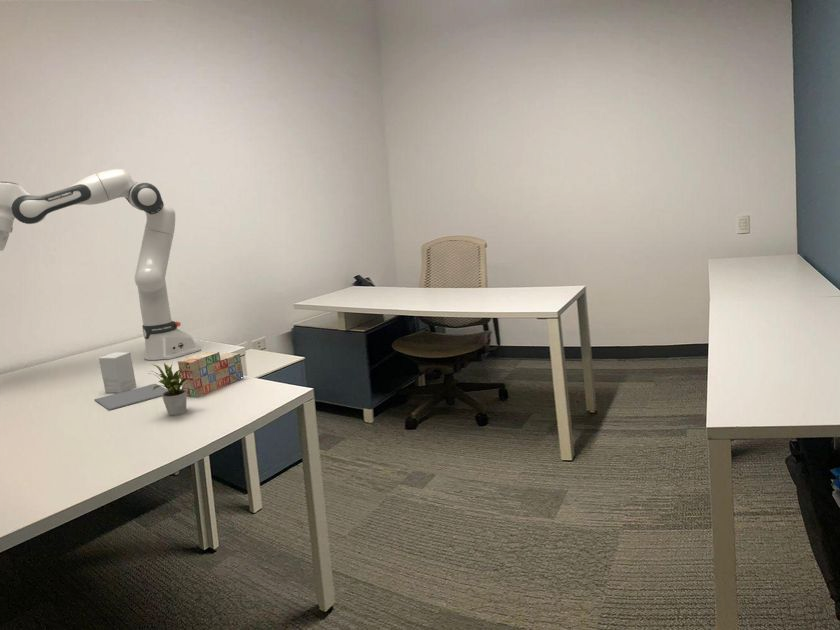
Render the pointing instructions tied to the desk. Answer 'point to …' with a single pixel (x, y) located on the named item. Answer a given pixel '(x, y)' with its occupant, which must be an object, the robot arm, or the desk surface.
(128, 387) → the supplement box
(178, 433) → the desk surface
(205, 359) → the stack of blocks
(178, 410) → the house plant
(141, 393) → the mat
